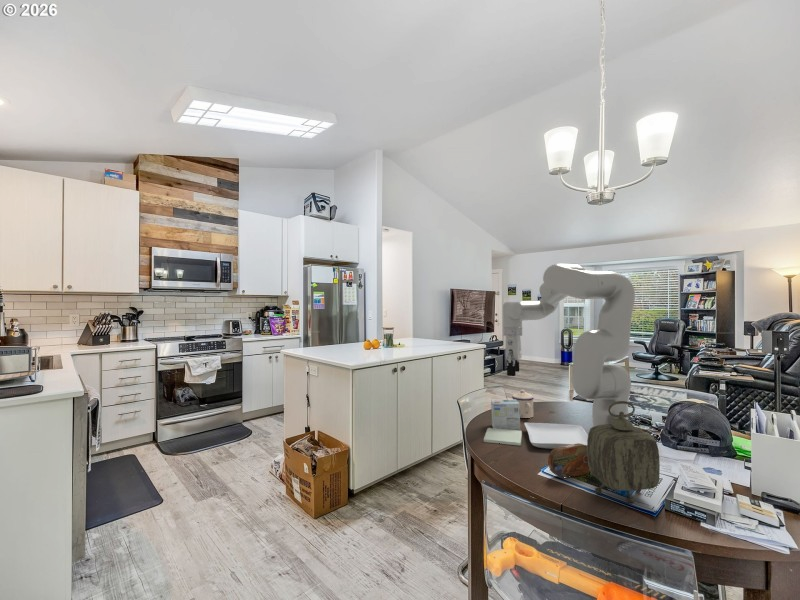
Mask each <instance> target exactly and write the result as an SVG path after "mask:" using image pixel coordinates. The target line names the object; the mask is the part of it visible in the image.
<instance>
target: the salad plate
mask: <svg viewBox="0 0 800 600" xmlns="http://www.w3.org/2000/svg"><path fill="white" fill-rule="evenodd" d="M523 425H524V427H525V429H526V431H527V434H528V438H529V443H530V444H531V445H532V446H534V447H535V448H539V449H540V448H541V449H550V450H551V449H552V450H553V449H555V448H557V447H561V446H567V445H572V444H578V443H579V444H583V445H587V439H588V432H586V430H585V429H584V428H583V426H581V425H579V424H578V425H577V424H564V423H563V424H562V423H546V422H524V424H523Z"/></svg>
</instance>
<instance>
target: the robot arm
mask: <svg viewBox="0 0 800 600" xmlns="http://www.w3.org/2000/svg"><path fill="white" fill-rule="evenodd" d="M542 275H543V276H542V280H543V283H541V285H540V286H539V290H538V291H539V295H540V297H541V298H540V299H538V300H523V301H521V300H520V301H519V300H518V301H505V302H504V303H503V304H502V335H503V336H505V360H507V362H506V376H508V377H516V373H517V372H520V359H521V358H522V342H521V341H522V340H521V337H522V336H523V321H539V320H543V319H544V318H546V317H548V316H550V315H551V314H552V313H555V311H556V310H557V309H558V306H559V304H560V303H559V302H561V301H562V300H564V299H565V298H567V297H571V298H574V299H578V300H599V299H601V300H602V299H604V300H605V302H604V303H603V305H602V306H601V308H600V311H599V314H598V322H597V328H596V329H595V330H594V329H593V330H587V331H584V332H583V333H581V334H580V335H579V336H578V337H577V339H576V341H575V343H574V349H573V357H572V358H573V361H572V369H571V370H572V374H571V384H572V387H573V389H574V392H575V394H577V395H578V396H579V397H580V398H582V399H584V400H589V401H591V400H593V403H592V407H591V408H592V410H591V411H592V415H591V416H592V427H594V426H597V425H605V424H612V421H613V420H614V419H616V418H617V417H614V416H612V415H610V414H609V412H608V408H609V406H610V405H611V404H612V403H614V402H617V401H627V402H629V403H630V401H629V400H630V399H629V398H630V394H631V389H632V388H631V387H632V380H631V376H630V373H629V371H627V369H625V368H624V367H623V366H622V365H619V364H615V363H610V362H615V361H621V360H623V359H624V358H626V357H627V355H628V353H629V351H630V350H629V349H630V339H631V329H632V317H633V316H632V315H633V312H634V311H633V310H634V305H635V299H636V293H635V288H634V286H633V285H634V284H633V283H632V282H631V280H630V279H628V277H626V275H623V274H621V273H619V272H614V271H610V270H609V271H607V270H586V269H585V268H584V267H582V266H581V265H580V264H575V263H574V264H572V263H571V264H570V263H556V264H551V265H550V266H548V267H546V270H544V273H543V274H542ZM610 412H611V413H612V414H615V415H619V413H620V412H623V413H624V415H626V414H629V405H628V404H616V405H614V406H612V407H611V409H610ZM624 419H627V420H629V417H625V418H624Z"/></svg>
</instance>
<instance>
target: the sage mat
mask: <svg viewBox="0 0 800 600" xmlns="http://www.w3.org/2000/svg"><path fill="white" fill-rule="evenodd" d="M522 436H523V431H522V430H506V429H495V428H493V427H487V429H486V432H485V433H484V437H483V443H490V444H499V443H500V444H501V445H509V446H510V445H511V446H512V445H513V446H521V445H522V438H523V437H522ZM500 444H499V445H500Z"/></svg>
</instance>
